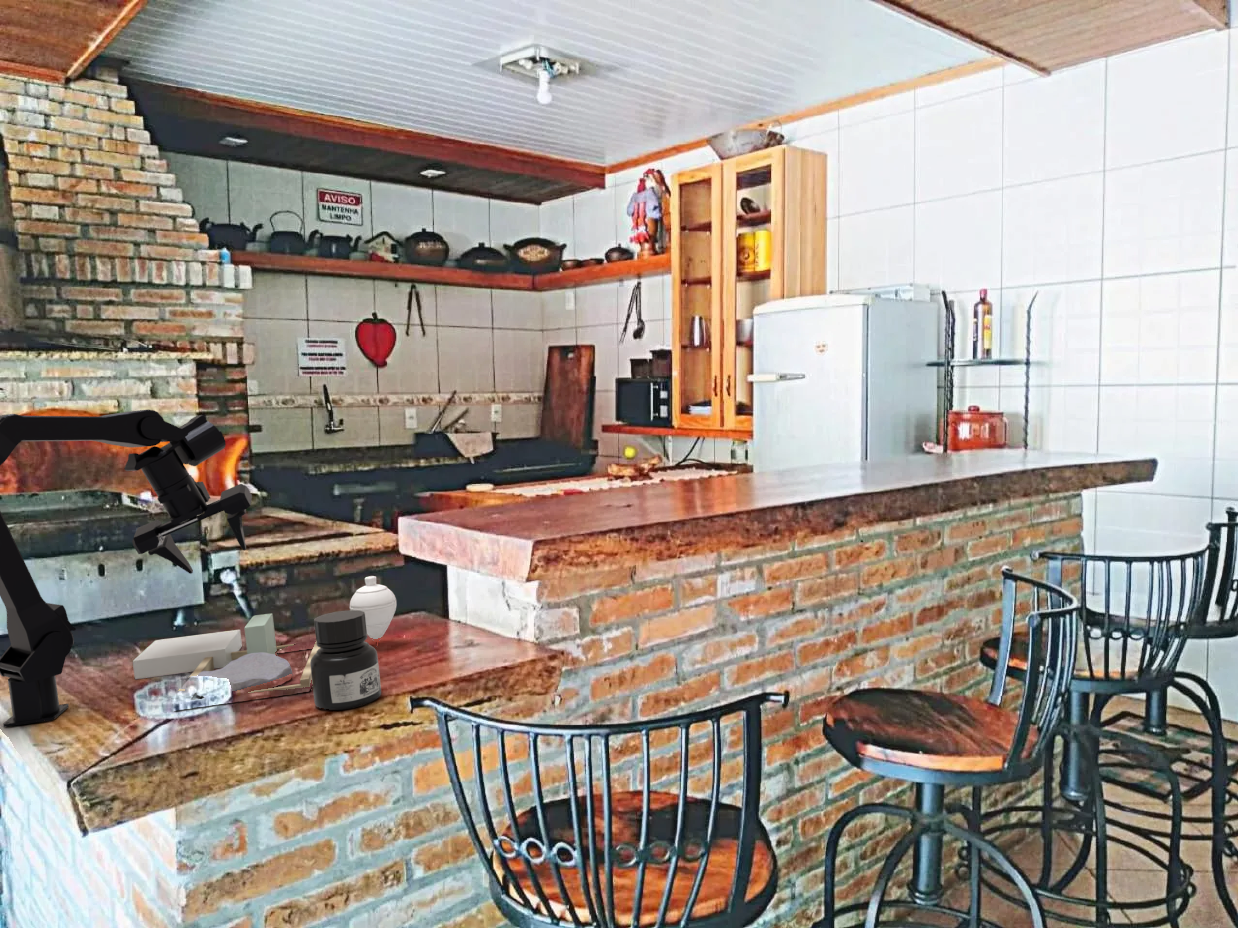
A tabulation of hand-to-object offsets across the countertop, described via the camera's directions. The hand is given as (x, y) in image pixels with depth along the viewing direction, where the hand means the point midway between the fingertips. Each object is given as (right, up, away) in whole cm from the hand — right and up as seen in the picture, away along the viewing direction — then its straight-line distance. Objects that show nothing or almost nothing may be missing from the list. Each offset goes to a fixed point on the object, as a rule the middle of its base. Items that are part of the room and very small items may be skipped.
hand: (218, 560), depth 158 cm
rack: (+11, -17, -10) cm, 23 cm away
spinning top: (+26, -15, +2) cm, 30 cm away
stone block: (+11, -18, -16) cm, 27 cm away
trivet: (-5, -17, +2) cm, 18 cm away
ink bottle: (+30, -17, -27) cm, 44 cm away
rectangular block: (+9, -17, -4) cm, 19 cm away
